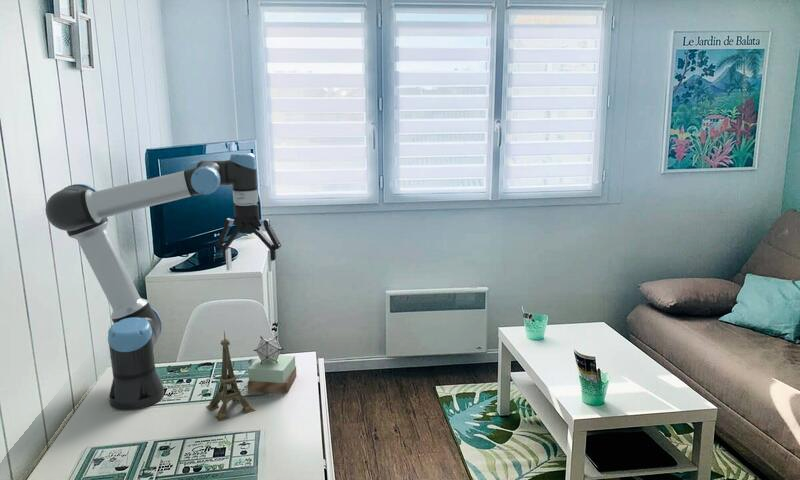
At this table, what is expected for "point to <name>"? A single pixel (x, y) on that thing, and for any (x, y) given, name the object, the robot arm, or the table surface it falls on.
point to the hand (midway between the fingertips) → (250, 269)
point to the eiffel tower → (227, 392)
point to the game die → (268, 349)
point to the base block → (272, 385)
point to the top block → (272, 369)
